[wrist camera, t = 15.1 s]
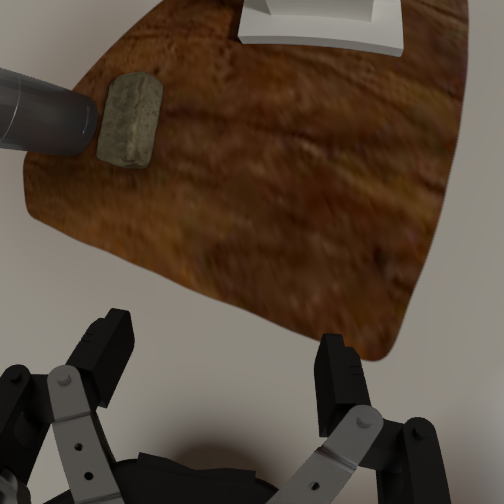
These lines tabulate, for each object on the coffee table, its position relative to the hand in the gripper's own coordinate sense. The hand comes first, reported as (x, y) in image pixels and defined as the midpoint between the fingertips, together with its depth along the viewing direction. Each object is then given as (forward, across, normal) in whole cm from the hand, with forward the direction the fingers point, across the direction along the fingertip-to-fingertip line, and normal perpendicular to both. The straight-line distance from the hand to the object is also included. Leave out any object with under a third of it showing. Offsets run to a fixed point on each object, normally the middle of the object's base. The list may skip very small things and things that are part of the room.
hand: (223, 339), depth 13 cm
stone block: (+29, -15, +5) cm, 33 cm away
